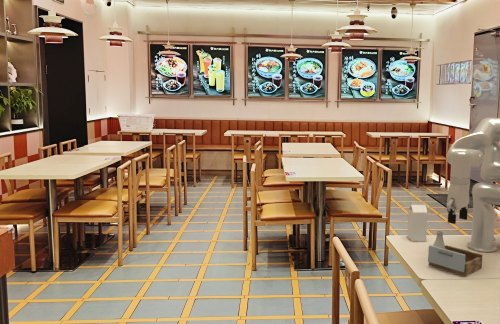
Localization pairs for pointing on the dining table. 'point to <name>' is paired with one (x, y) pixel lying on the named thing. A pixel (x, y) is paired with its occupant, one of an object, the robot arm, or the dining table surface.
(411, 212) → the milk carton
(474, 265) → the wooden tray
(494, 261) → the dining table surface
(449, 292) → the dining table surface
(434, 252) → the grey flat panel
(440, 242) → the flask
